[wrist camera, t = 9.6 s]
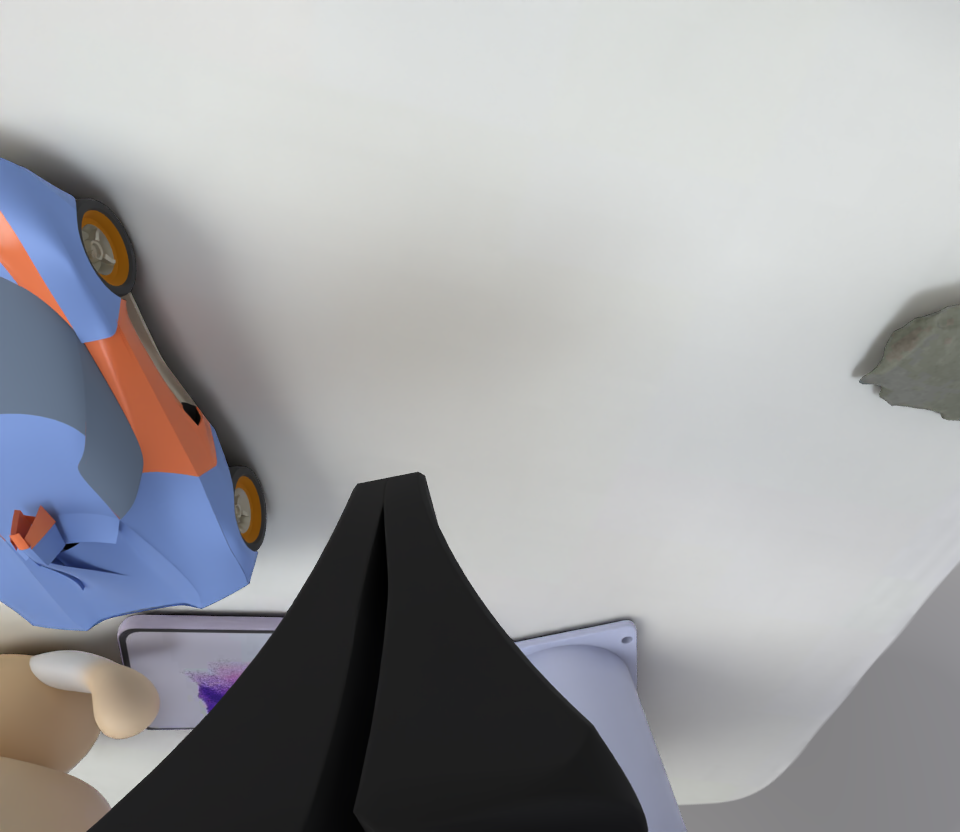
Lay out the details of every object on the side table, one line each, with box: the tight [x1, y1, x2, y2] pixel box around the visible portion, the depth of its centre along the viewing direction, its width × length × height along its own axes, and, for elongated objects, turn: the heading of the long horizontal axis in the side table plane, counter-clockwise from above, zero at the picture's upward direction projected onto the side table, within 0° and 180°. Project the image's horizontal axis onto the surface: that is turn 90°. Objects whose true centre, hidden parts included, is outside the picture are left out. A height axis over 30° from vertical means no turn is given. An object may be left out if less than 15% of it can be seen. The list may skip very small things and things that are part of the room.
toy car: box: [0, 157, 266, 631], centre depth 16 cm, size 8×15×5 cm, turn 8°
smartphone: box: [117, 615, 283, 730], centre depth 27 cm, size 7×1×15 cm
